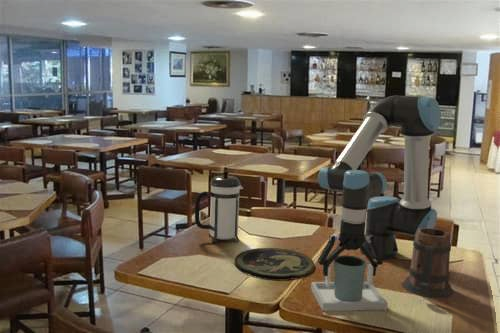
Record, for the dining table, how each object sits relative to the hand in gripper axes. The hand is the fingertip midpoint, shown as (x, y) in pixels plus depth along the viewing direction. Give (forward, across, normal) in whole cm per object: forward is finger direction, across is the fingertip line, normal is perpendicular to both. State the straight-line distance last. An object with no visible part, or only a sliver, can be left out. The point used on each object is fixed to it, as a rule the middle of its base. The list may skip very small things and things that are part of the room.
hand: (348, 285), depth 158 cm
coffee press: (+5, +38, -60) cm, 71 cm away
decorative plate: (+5, +19, -31) cm, 37 cm away
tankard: (+5, -29, -6) cm, 30 cm away
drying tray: (+5, 0, 0) cm, 5 cm away
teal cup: (+4, 0, 0) cm, 4 cm away
